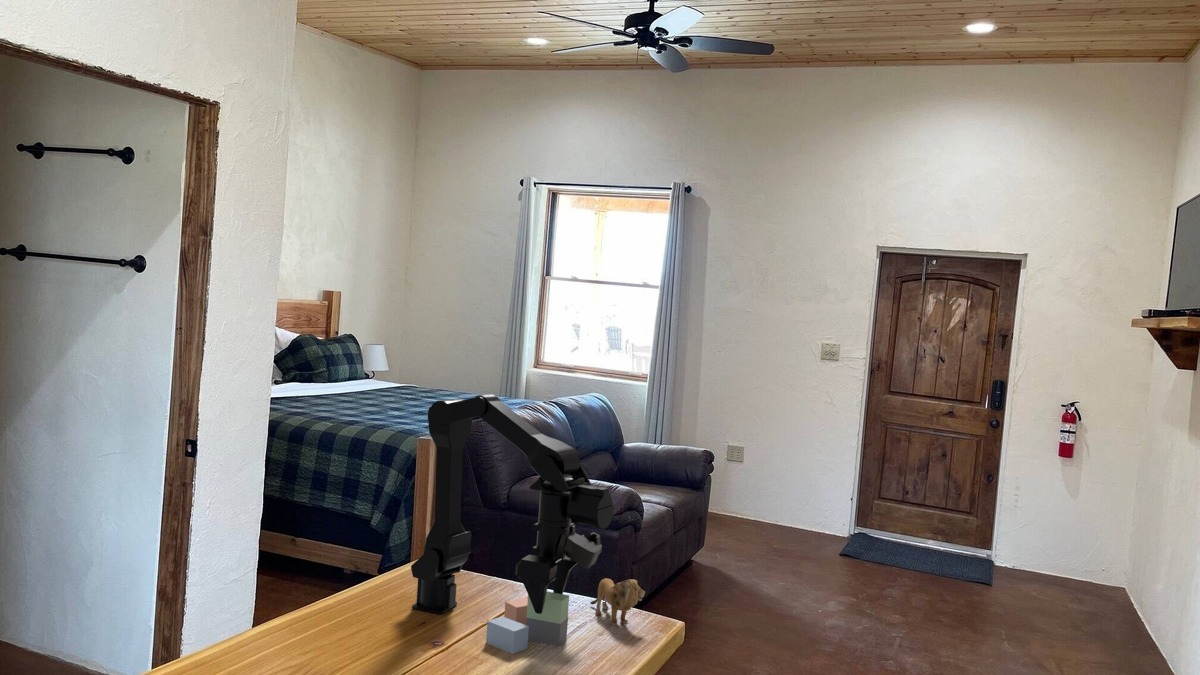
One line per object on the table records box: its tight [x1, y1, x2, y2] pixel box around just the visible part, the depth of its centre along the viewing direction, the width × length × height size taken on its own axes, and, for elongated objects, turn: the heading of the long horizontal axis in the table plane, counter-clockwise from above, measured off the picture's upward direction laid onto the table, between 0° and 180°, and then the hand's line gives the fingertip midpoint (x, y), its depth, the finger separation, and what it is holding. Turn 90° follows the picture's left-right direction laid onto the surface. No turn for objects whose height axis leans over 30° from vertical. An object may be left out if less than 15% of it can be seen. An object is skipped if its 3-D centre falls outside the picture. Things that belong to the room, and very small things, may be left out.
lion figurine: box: [589, 577, 646, 626], centre depth 178 cm, size 15×5×9 cm, turn 35°
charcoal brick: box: [526, 617, 569, 647], centre depth 164 cm, size 6×4×4 cm, turn 71°
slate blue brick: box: [485, 616, 529, 655], centre depth 160 cm, size 6×4×4 cm, turn 51°
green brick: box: [527, 591, 570, 624], centre depth 164 cm, size 6×4×4 cm, turn 71°
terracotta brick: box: [503, 596, 528, 625], centre depth 172 cm, size 6×4×4 cm, turn 131°
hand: (548, 605), depth 164 cm, fingers open, 9 cm apart
